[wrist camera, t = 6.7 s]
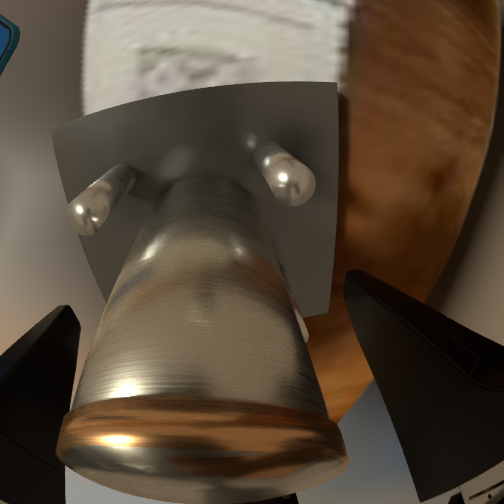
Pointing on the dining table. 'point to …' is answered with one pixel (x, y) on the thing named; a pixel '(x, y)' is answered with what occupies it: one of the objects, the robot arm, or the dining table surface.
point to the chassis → (212, 172)
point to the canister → (201, 365)
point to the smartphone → (7, 41)
